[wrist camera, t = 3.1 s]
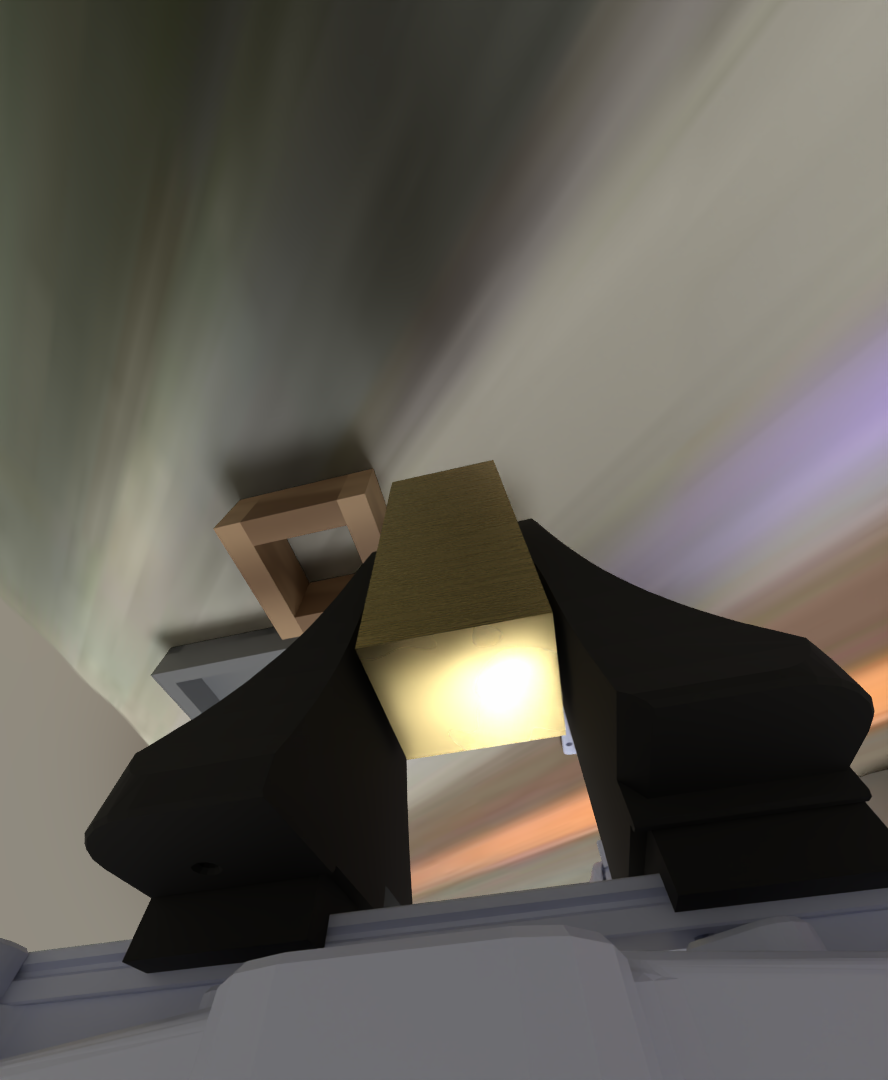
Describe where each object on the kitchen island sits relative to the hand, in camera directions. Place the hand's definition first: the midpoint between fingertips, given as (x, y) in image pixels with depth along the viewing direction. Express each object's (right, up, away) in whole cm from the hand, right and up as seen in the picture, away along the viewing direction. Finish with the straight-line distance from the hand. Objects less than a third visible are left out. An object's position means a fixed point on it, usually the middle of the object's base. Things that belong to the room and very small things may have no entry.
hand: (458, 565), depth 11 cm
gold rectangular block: (0, +1, +2) cm, 3 cm away
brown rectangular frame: (-7, +1, +11) cm, 13 cm away
